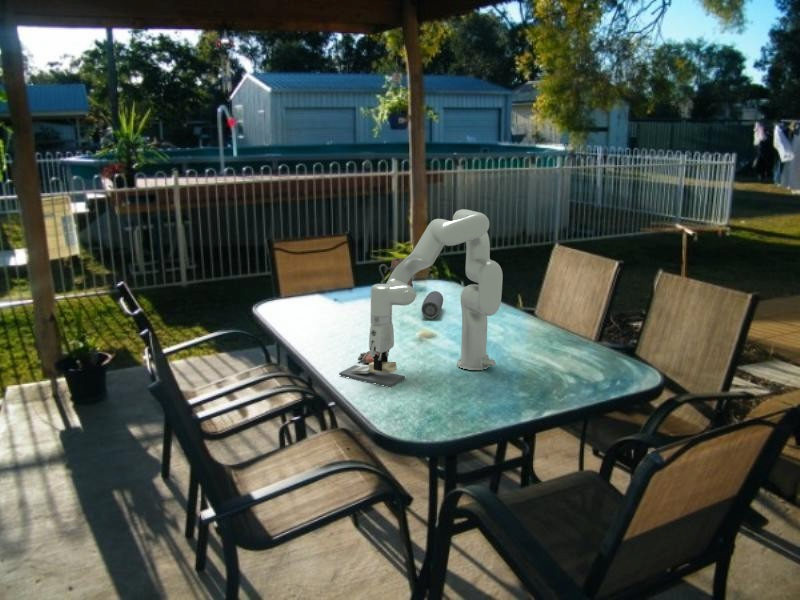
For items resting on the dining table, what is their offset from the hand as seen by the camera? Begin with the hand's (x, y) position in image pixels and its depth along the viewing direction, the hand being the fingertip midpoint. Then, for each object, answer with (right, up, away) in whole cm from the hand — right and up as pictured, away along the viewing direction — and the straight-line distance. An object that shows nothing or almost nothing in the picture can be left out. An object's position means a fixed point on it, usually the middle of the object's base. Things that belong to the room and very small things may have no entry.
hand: (380, 368), depth 240 cm
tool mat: (-3, -4, +3) cm, 6 cm away
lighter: (+1, +2, +18) cm, 18 cm away
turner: (-2, -1, +1) cm, 2 cm away
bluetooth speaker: (+23, +17, +88) cm, 92 cm away
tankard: (+4, +27, +126) cm, 128 cm away
